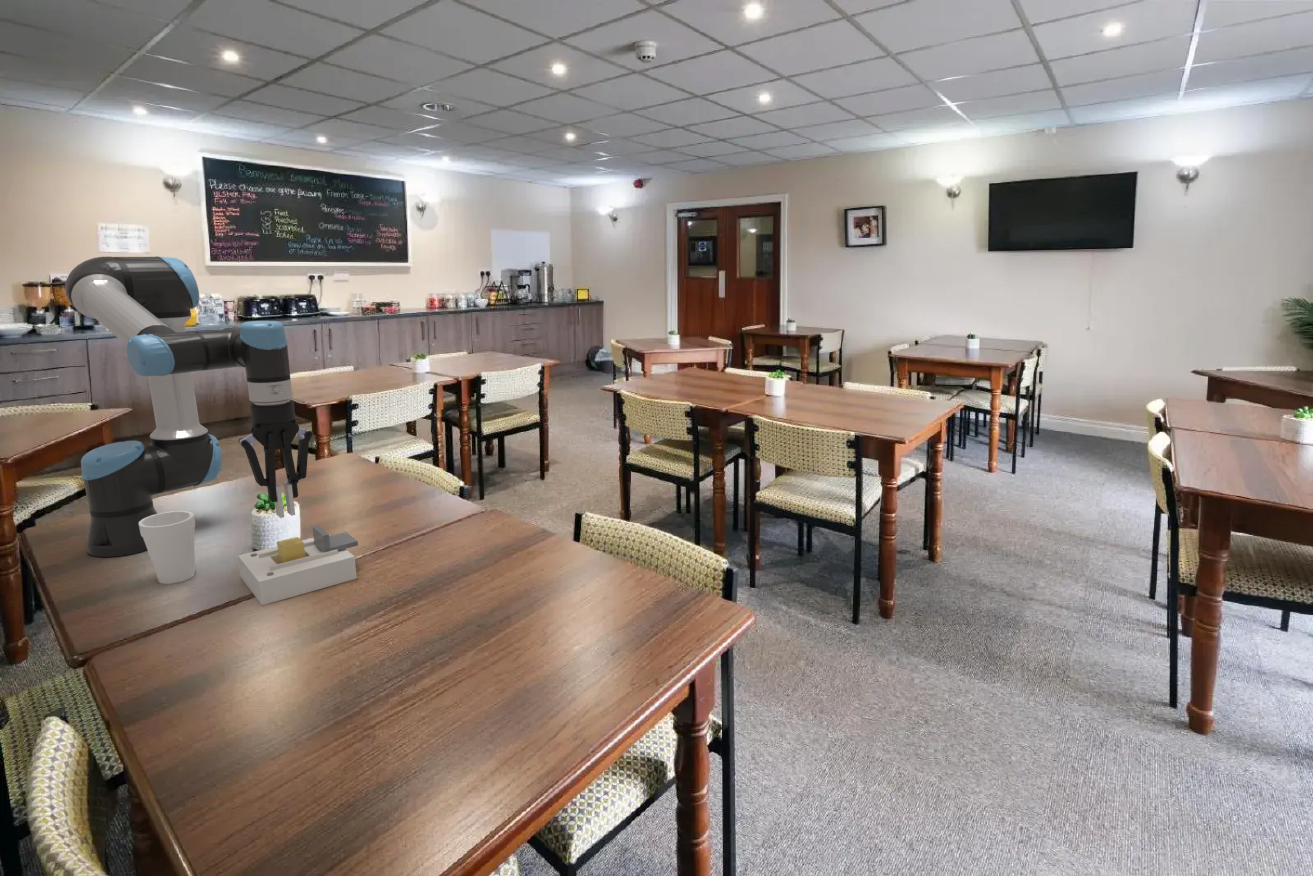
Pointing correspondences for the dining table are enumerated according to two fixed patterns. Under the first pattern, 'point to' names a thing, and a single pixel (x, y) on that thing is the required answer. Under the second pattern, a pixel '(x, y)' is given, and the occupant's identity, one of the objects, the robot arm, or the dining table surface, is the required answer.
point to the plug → (290, 549)
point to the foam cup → (170, 544)
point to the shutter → (332, 540)
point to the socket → (294, 572)
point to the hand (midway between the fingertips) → (285, 514)
